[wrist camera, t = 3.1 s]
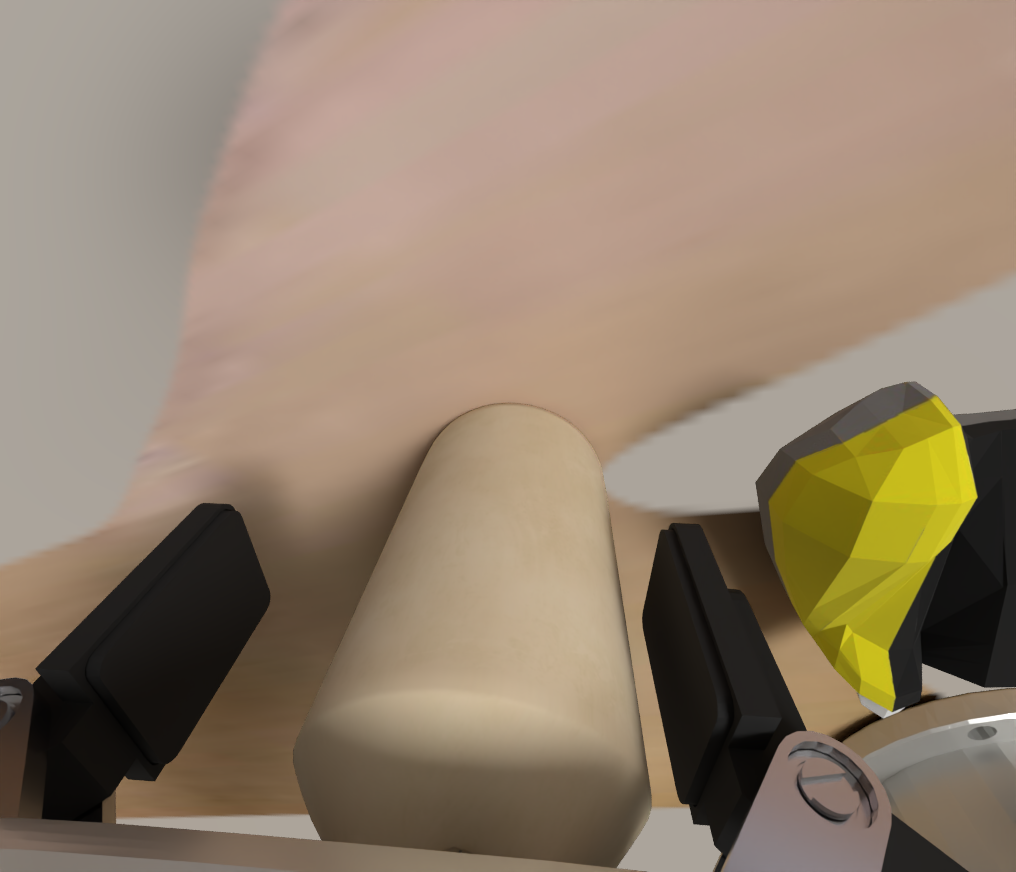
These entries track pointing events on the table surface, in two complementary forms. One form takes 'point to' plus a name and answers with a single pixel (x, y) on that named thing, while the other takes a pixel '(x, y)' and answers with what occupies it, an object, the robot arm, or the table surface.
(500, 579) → the candle
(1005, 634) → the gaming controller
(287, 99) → the table surface
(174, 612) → the robot arm
